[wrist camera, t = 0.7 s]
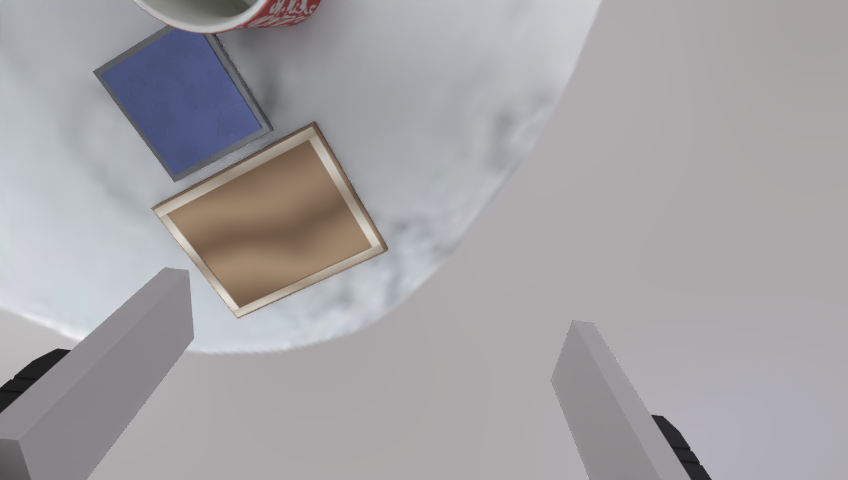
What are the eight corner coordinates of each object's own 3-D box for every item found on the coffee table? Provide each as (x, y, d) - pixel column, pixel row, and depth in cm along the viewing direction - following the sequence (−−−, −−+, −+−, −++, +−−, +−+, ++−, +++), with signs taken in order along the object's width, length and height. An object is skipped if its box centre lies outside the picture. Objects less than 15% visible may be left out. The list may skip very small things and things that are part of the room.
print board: (155, 206, 39) (150, 209, 38) (314, 121, 36) (312, 123, 35) (239, 315, 44) (236, 319, 43) (387, 248, 41) (387, 251, 40)
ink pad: (98, 71, 35) (91, 71, 34) (199, 9, 33) (193, 8, 32) (178, 180, 38) (173, 182, 37) (273, 129, 36) (269, 131, 36)
